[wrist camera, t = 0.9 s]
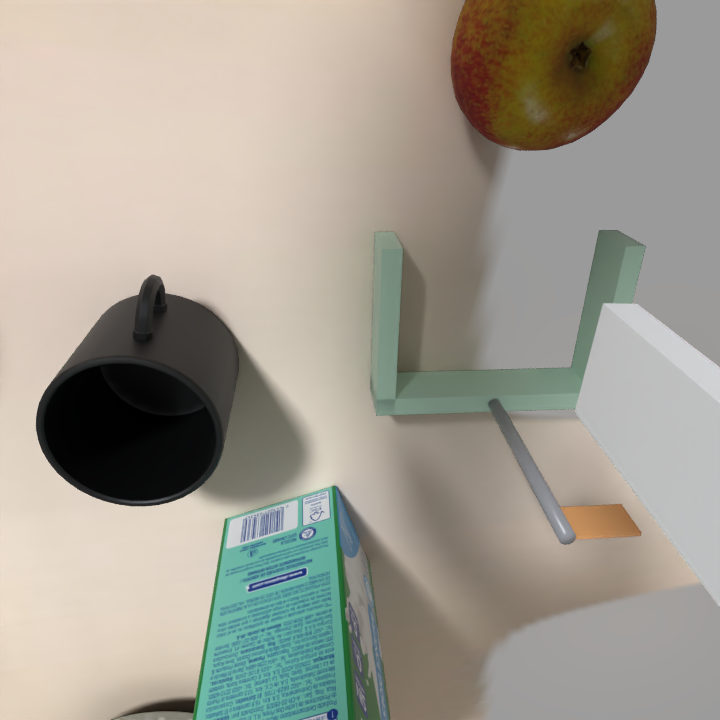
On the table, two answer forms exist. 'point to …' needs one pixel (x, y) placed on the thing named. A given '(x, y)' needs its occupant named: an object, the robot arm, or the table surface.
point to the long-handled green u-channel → (505, 375)
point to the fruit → (548, 66)
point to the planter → (158, 716)
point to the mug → (142, 401)
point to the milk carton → (292, 619)
